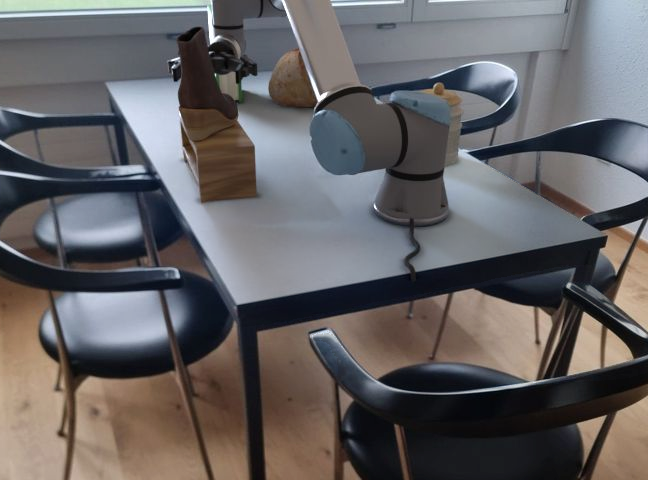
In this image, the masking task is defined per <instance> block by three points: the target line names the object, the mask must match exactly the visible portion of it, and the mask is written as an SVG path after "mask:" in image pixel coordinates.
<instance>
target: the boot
mask: <svg viewBox="0 0 648 480" xmlns="http://www.w3.org/2000/svg"><path fill="white" fill-rule="evenodd" d="M175 41H176V44H177V48H178V51H177V56H179V57H180V65H181V72H182V75H181V78H180V82H179V83H180V84H179V86H178V90H177V101H178V113H179V112H180V115H181V117H182V120H183V123H184V126H185V129H186V132H187V135H188V138H189V139H190V140H191V141H195V142H198V141H202V140H204V139H206V138H207V137H209V136H210V135H211V134H213V133H215V132H217V131H219V130H222V129H226V128H229V127H231V126H233V125H234V124H235V123H236V121H238V119H239V107H238V104H237V103H236V100H234V99H233V98H232V97H231V96H230V95H228V94H225V93H222V92H221V90H220V88H219V85H218V82H217V80H216V77H215V73H214V69H213V66H212V63H211V59H210V55H209V51H208V46H209V45H208V42H207V38H206V31H205V27H204V26H193V27H191V28H189V29H188V30H186V31H185V33H180V34H179V35H178V36H177V37H176V39H175Z"/></svg>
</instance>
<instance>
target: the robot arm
mask: <svg viewBox="0 0 648 480" xmlns="http://www.w3.org/2000/svg"><path fill="white" fill-rule="evenodd" d="M210 3H211V4H210V5H212V17H213V34H214V40H213V41H212V42H211V44H210V43H209V45H207V46H208V51H209V55H210V59H211V63H212V66H213V69H214V73H215V74H217V75H226V74H229V73H230V72H235V77H236V84H240V82H241V83H242V80H243V79H244V78H247V77H250V75H251V76H254V77H257V76H258V63H257V62H256V61H254V60H252V59H251V58H249V57H248V54H245V53H246V51H247V39H246V36H245V31H244V20H250V19H265V18H266V19H268V18H286V17H287V18H288V21H289V25H290V27H291V30H292V32H293V35H294V38H295V41H296V44H297V48H298V47H299V49H300V52H301V55H302V58H303V61H304V64H305V67H306V69H307V72H308V75H309V78H310V81H311V84H312V87H313V89H314V92H315V95H316V98H317V101H318V103H317V105H316V107H314V109H313V116H312V119H311V121H310V125H309V136H310V138H311V140H310V144H311V148H312V151H313V154H314V157H315V158H316V160H317V162H318V164H319V165H320V166H321V168H322V169H323V170H324V171H326V172H327V173H329V174H331V175H333V176H346V175H348V176H355V175H359V174H363V173H368V172H374V171H380V170H384V169H385V170H384V175H383V178H382V180H381V182H380V185H379V188H378V191H377V193H376V195H375V197H374V203H373V212H374V214H375V215H376V216H377V217H378V218H380V219H381V220H383V221H385V222H388V223H390V224H394V225H400V226H404V227H405V226H406V227H409V231H408V232H409V233H408V236H409V240H410V242H411V243H412V244H413V246H414V247H415V249H414V250H412V251H411V252H410V253H408V254H406V256H405V257H404V259H403V264H404V266H405V267H406V268H407V269H408V271H409V272H410V281H412V282H416V281H417V275H416V268H415V267H414V266H413V264H412V263H411V262H410V260H412V258H415V256H417V255H418V254H419V253H420V251H421V245H420V243H419V242H418V240H416V238H415V227H426V226H431V225H435V224H439V223H441V222H443V221H444V220H446V218H447V217H448V215H449V200H448V195H447V190H446V185H445V179H444V174H445V173H444V172H445V166H446V165H445V158H446V149H447V141H448V133H449V126H450V125H451V124H450V112H451V108H450V105H449V103H448V102H447V101H446V100H444V99H442V98H440V97H438V96H434V95H431V94H426V93H421V91H413V90H395V91H393V92H391V94H390V97H389V102H387V103H377V101H376V98H375V96H374V92H373V90H372V89H371V87H369V86H367V85H365V84H361V81H360V78H359V76H358V73H357V70H356V68H355V64H354V62H353V59H352V56H351V54H350V51H349V48H348V45H347V42H346V40H345V37H344V34H343V32H342V29H341V26H340V23H339V21H338V17H337V15H336V12H335V9H334V6H333V3H332V1H331V0H210ZM166 63H167V70H168V74H171V75H172V79H173V83H178V82H179V80H181V75H182V72H181V65H180V56H179V57H176V58H173V59H168V60H167V62H166Z"/></svg>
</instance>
